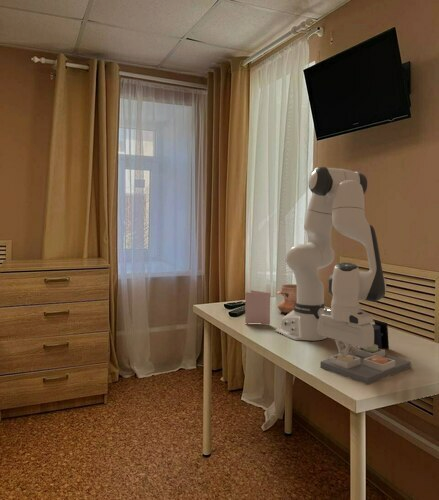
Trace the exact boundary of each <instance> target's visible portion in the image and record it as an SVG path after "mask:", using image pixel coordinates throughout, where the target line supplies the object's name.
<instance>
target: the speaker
mask: <svg viewBox="0 0 439 500" xmlns="http://www.w3.org/2000/svg"><path fill="white" fill-rule="evenodd" d="M371 324H372V326H373V328H374V344H376V345H378V348H379V349H382V348H384V349H387V350H389V349H390V346H389V343H390V342H389V329H388V322H384V321H381V320H374V324H373V323H371Z"/></svg>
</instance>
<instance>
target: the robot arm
mask: <svg viewBox="0 0 439 500" xmlns="http://www.w3.org/2000/svg"><path fill="white" fill-rule="evenodd" d="M308 188H309V190H310V191H311V193H312V194H311V195H310V196H311V197H310V199H309V202H308V205H307V211H306V214H305V220H304V223H303V227H304V230H305V232H306V235H307V242H306V243H302V244H301V243H300V244H297V245H294V246H293V247H290V248H289V249H288V250H287V252H286V255H285V262H286V265H287V267H289V269H291V271H292V273H293V275H294V279H295V282H296V283H295V285H297V302H296V303H292V304H294V305H292V306H294V309H293V311H291V312H290V313H289V314H286V315H284V316H283V317H282V319H281V323H280V326H277V327H276V328H275V332H276V333H278V332H279V334H280V333H281V334H280V335H282V334H283V336H285V337H287V338H289V339H292V340H295V341H321V340H322V341H323V340H325V339H327V338H328V339H332V340H335V345H336V347H337V349H338V350H337V351H338V354H342V355H345V356H348V355H349V353H350V350H351V348H352V347H353V346H355V347H358V348H360V347H361V348H364V349H367V348H371V347H372V346H373V345H374V328H373V326H372V324H373V322H374V316H373V315H371V314H369V313H368V312H366V311H365V310H363V309H361V308H360V301H359V300H363V301H367V302H368V301H369V302H378V301H379V300H381V299H383V298H384V297H385V296H386V292H387V282H386V279H385V276H384V273H383V272H384V271H383V267H382V262H381V261H382V260H381V255H380V250H379V244H378V238H377V234H376V230H375V228H374V226H373V225H371V224H369V222H368V220H367V219H366V213H365V211H366V210H365V206H366V205H365V194H366V192H367V189H368V179H367V177H366V175H365V174H364V173H361V172H359V171H353V170H350V169H345V168H336V167H326V166H319V167H316V168H314V169H313V170H312V171H311V173H310V175H309V179H308ZM333 228H334V230H336V232H338V233H339V234H341V235H342V236H344V237H347V238H349V239H351V240H354V241H356V242H359V243H360V244H361V245H363V246H364V248H365V251H366V254H367V263H368V268H369V270H367V271H360V270H359V266H358V265H357V264H355V263H352V262H340V263H337V264H335V265H334V268H333V271H332V272H333V273H332V274H330V275H329V276H328V293H329V294H330V295H331V296H332V298H331V302H330V309H329V308H325V307H326V306H325V304H326V303H324V302H325V285H324V283H323V281H321V279H320V277H319V273H318V270H320V269H324V268H326V267H328V266H330V265H331V264H333V262H334V261H335V258H336V255H335V250H334V249H333V246H332V229H333ZM343 343H344V345H343ZM344 346H345V348H344Z"/></svg>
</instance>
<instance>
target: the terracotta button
mask: <svg viewBox="0 0 439 500" xmlns="http://www.w3.org/2000/svg"><path fill="white" fill-rule="evenodd" d="M371 361H373V362H376V363H380V364H384V363H387V362H388V360H387V359H386V358H384V357H379V356H374V357H371Z"/></svg>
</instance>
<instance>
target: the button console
mask: <svg viewBox="0 0 439 500" xmlns="http://www.w3.org/2000/svg"><path fill="white" fill-rule="evenodd" d="M337 355H339V353H338V354H334V355H331V356H329V358H328V359H324V360H321V361H320V364H319V365H320V367H319V368H321V369H324V370H327V371H330V372H332V373H335V374H337V375H339V376H340V375H341V376H343V377H345V378H349V379H351V380H354V381H357V382H359V383H361V384H365V385H367V386H368V385H370V384H373V383H375V382H377V381H381V380H383V379H385V378H388V377H390V376H393V375H396V374H398V373H400V372H403V371H405V370H409V369H411V366H412V365H411V363H412V362H411V361H409V360H407V359H402V358H399V357H396V356H392V355H388V354H386V350H385V349H382V348H381V349H379V348H378V352H375V353H370V352H367V351H363V348H361V347H358V348H355V350H354V351H351V352H350V351H349V355H351V356H353V360H351V361H348V362H346V361H343V360H340V359H337ZM374 356H379V357H384V358H386V359H387V360H388V362H387V363H384V364H380V363H376V362H373V361H371V357H374Z"/></svg>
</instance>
